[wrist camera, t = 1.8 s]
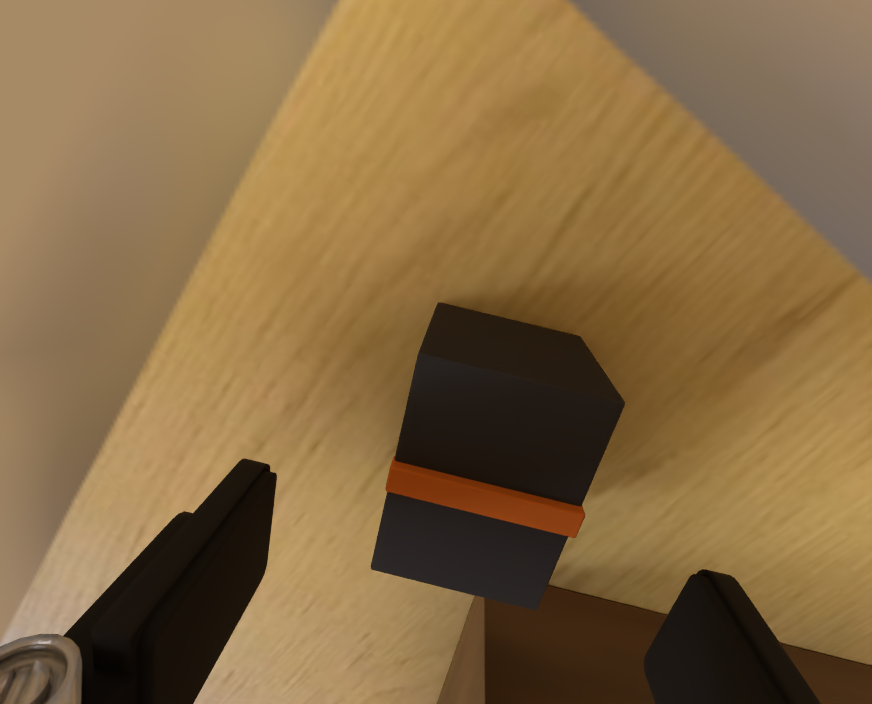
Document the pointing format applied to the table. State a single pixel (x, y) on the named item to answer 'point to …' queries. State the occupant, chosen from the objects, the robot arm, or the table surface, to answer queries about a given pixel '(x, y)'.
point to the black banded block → (494, 456)
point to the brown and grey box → (591, 656)
